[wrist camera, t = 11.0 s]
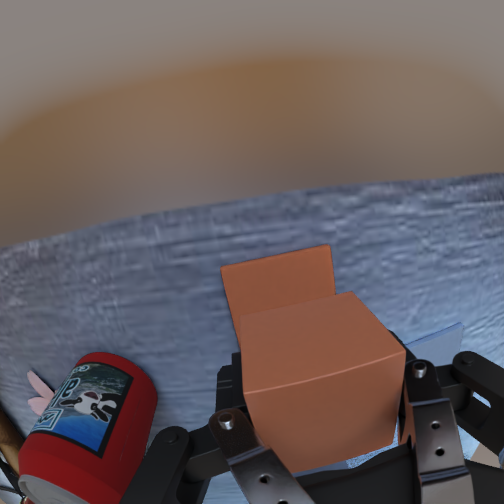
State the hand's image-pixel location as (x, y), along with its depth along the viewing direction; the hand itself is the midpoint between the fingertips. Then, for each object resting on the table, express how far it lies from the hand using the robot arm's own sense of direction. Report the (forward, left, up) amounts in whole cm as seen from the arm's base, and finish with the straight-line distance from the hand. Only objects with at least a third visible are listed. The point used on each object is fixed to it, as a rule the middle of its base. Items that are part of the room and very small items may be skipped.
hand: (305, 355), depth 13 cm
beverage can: (-13, -4, -6) cm, 15 cm away
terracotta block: (0, 0, 0) cm, 0 cm away
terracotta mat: (0, 0, -6) cm, 6 cm away
